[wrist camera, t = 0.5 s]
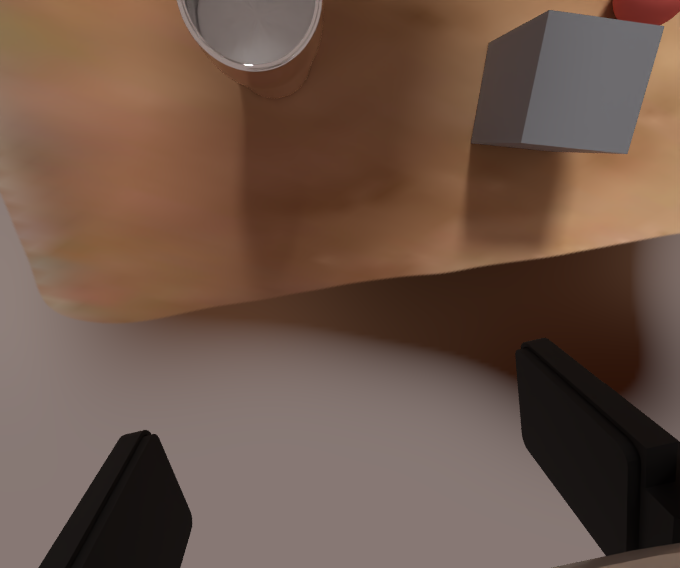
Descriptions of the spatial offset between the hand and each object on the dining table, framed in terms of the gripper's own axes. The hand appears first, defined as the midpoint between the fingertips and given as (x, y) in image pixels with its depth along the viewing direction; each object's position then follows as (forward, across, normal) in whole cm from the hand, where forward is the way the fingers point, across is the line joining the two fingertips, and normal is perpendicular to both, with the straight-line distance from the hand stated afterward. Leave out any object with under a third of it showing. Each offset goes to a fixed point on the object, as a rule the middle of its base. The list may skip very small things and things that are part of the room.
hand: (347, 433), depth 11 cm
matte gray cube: (+28, -20, -7) cm, 35 cm away
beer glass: (+28, 0, -14) cm, 32 cm away
